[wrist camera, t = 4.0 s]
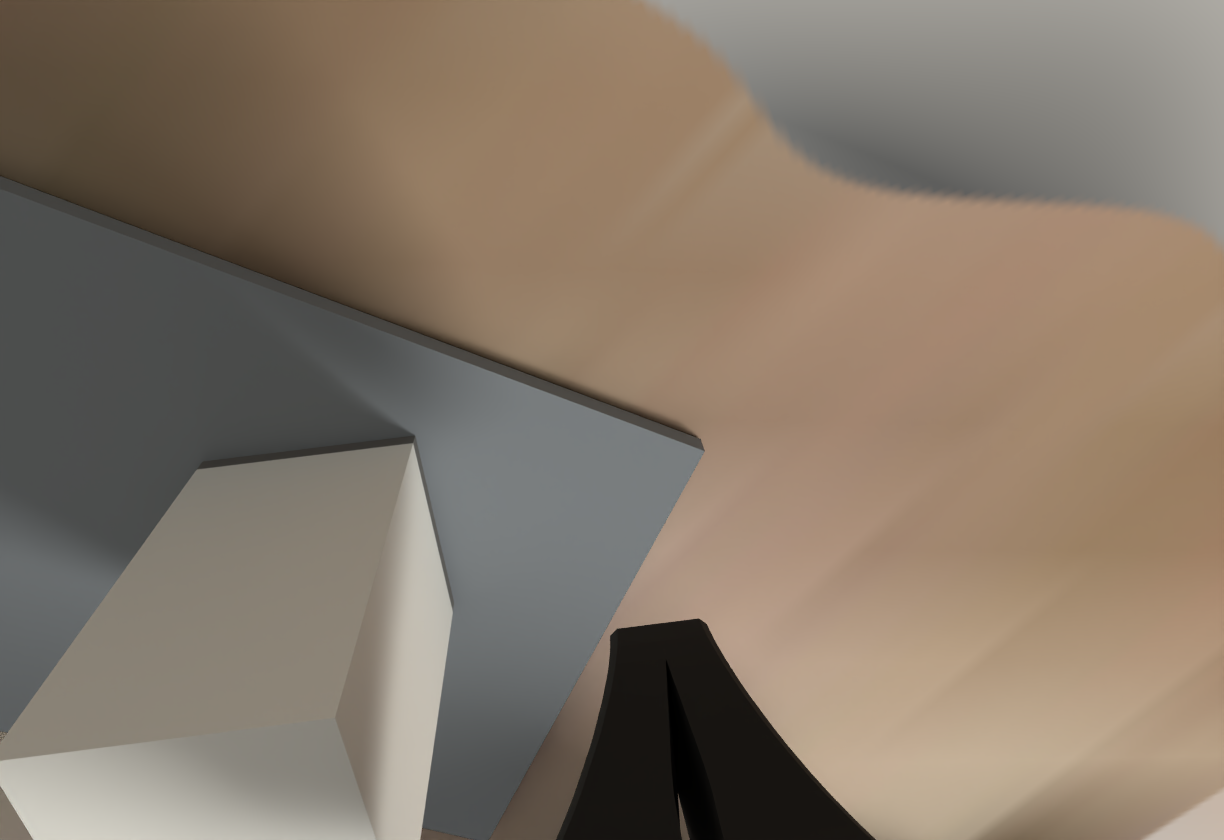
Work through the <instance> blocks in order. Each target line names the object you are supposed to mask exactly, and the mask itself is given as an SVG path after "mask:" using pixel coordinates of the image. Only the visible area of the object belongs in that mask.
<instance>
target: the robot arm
mask: <svg viewBox="0 0 1224 840" xmlns="http://www.w3.org/2000/svg"><path fill="white" fill-rule="evenodd" d="M678 795H679V799H680V803H681V807H682V810H683V814H684V818H685V822H686V826H687V830H688V834H689V838H690V840H876V839H875V838H874V837H872V836H871V835H870V834H869V833H868V832H867V831H866V830H865V829H864V828H863V827H862V826H861V825H860V824H859V823H858V822H857V821H856V820H855V819H854V818H853V817H852V816H851V815H850V814H849V813H848V812H847V811H846V810H845V809H844V808H843V807H842V806H841V805H840V804H839V803H838V802H837V801H836V800H835V799H834V798H833V797H832V796H831V795H830V793H829V792H828V791H827V790H826V789H825V788H824V787H823V786H822V785H821V784H820V783H819V781H818V780H817V779H816V778H815V777H814V776H813V775H812V774H811V773H810V771H809V770H808V769H807V768H806V767H805V766H804V764H803V763H802V762H801V761H800V760H799V758H798V757H797V756H796V755H795V754H794V753H793V751H792V750H791V749H790V748H789V747H788V745H787V744H786V743H785V742H784V740H783V739H782V738H781V737H780V735H779V734H778V733H777V732H776V730H775V729H774V728H773V727H772V725H771V724H770V722H769V721H768V720H767V718H766V717H765V716H764V714H763V713H762V712H761V710H760V709H759V708H758V706H757V705H756V704H755V702H754V701H753V700H752V698H751V697H750V696H749V694H748V693H747V691H746V690H745V688H744V687H743V685H742V684H741V683H740V681H739V679H738V678H737V676H736V675H735V673H734V672H733V670H732V669H731V667H730V666H729V664H728V662H727V661H726V659H725V657H724V656H723V654H722V652H721V651H720V649H719V647H718V646H717V644H716V642H715V640H714V638H713V636H712V634H711V632H710V630H709V628H708V626H707V624H706V623H704V622H703V621H702V620H700V619H692V620H684V621H676V622H668V623H660V624H652V625H644V626H636V627H628V628H620V629H617V630H616V631H615V632H614V633H613V634H612V635H611V636H610V659H609V668H608V674H607V680H606V685H605V691H604V696H603V700H602V705H601V708H600V712H599V716H598V720H597V724H596V728H595V731H594V735H593V739H592V743H591V746H590V749H589V752H588V755H587V758H586V761H585V764H584V767H583V770H582V773H581V776H580V779H579V782H578V785H577V788H576V791H575V794H574V797H573V799H572V802H571V805H570V807H569V810H568V812H567V815H566V817H565V820H564V822H563V825H562V827H561V830H560V832H559V834H558V837H557V839H556V840H682V837H681V832H680V819H679V804H678Z"/></svg>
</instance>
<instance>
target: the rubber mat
mask: <svg viewBox="0 0 1224 840" xmlns="http://www.w3.org/2000/svg"><path fill="white" fill-rule="evenodd" d="M407 436H415V437H416V441H417V445H418V449H419V454H420V458H421V462H422V467H423V471H424V475H425V480H426V484H427V488H428V492H429V497H430V501H431V505H432V510H433V514H434V518H435V523H436V527H437V531H438V535H439V540H440V544H441V548H442V553H443V557H444V561H445V565H446V570H447V574H448V578H449V583H450V587H451V591H452V596H453V600H454V608H453V615H452V622H451V629H450V636H449V643H448V650H447V657H446V664H445V671H444V678H443V685H442V692H441V699H440V705H439V712H438V719H437V726H436V733H435V740H434V747H433V754H432V761H431V768H430V775H429V782H428V789H427V796H426V803H425V810H424V817H423V824H422V828H425V829H429V830H434V831H438V832H442V833H447V834H451V835H455V836H460V837H464V838H469V839H473V840H489V839H490V837H491V835H492V833H493V831H494V830H495V828H496V826H497V824H498V822H499V821H500V819H501V817H502V815H503V813H504V812H505V810H506V808H507V806H508V804H509V803H510V801H511V799H512V797H513V795H514V794H515V792H516V790H517V788H518V786H519V785H520V783H521V781H522V779H523V777H524V776H525V774H526V772H527V770H528V768H529V767H530V765H531V763H532V761H533V759H534V758H535V756H536V754H537V752H538V750H539V749H540V747H541V745H542V743H543V741H544V740H545V738H546V736H547V734H548V732H549V731H550V729H551V727H552V725H553V723H554V722H555V720H556V718H557V716H558V714H559V713H560V711H561V709H562V707H563V705H564V704H565V702H566V700H567V698H568V696H569V695H570V693H571V691H572V689H573V687H574V686H575V684H576V682H577V680H578V678H579V677H580V675H581V673H582V671H583V669H584V668H585V666H586V664H587V662H588V660H589V659H590V657H591V655H592V653H593V651H594V650H595V648H596V646H597V644H598V642H599V641H600V639H601V637H602V635H603V633H604V632H605V630H606V628H607V626H608V624H609V623H610V621H611V619H612V617H613V615H614V614H615V612H616V610H617V608H618V606H619V605H620V603H621V601H622V599H623V597H624V596H625V594H626V592H627V590H628V588H629V587H630V585H631V583H632V581H633V579H634V578H635V576H636V574H637V572H638V570H639V569H640V567H641V565H642V563H643V561H644V560H645V558H646V556H647V554H648V552H649V551H650V549H651V547H652V545H653V543H654V542H655V540H656V538H657V536H658V534H659V533H660V531H661V529H662V527H663V525H664V524H665V522H666V520H667V518H668V516H669V515H670V513H671V511H672V509H673V507H674V506H675V504H676V502H677V500H678V498H679V497H680V495H681V493H682V491H683V489H684V488H685V486H686V484H687V482H688V480H689V479H690V477H691V475H692V473H693V471H694V470H695V468H696V466H697V464H698V462H699V460H700V459H701V457H702V455H703V453H704V451H705V450H704V448H703V445H702V442H701V439H699V438H696V437H694V436H691V435H688V434H686V433H683V432H680V431H678V430H675V429H672V428H670V427H667V426H664V425H662V424H659V423H656V422H654V421H651V420H648V419H646V418H643V417H640V416H638V415H635V414H632V413H630V412H627V411H624V410H622V409H619V408H616V407H614V406H611V405H608V404H606V403H603V402H600V401H598V400H595V399H592V398H590V397H587V396H584V395H582V394H579V393H576V392H574V391H571V390H569V389H566V388H563V387H561V386H558V385H555V384H553V383H550V382H547V381H545V380H542V379H539V378H537V377H534V376H531V375H529V374H526V373H523V372H521V371H518V370H515V369H513V368H510V367H507V366H505V365H502V364H499V363H497V362H494V361H491V360H489V359H486V358H483V357H481V356H478V355H475V354H473V353H470V352H467V351H465V350H462V349H459V348H457V347H454V346H451V345H449V344H446V343H443V342H441V341H438V340H435V339H433V338H430V337H427V336H425V335H422V334H419V333H417V332H414V331H411V330H409V329H406V328H403V327H401V326H398V325H395V324H393V323H390V322H387V321H385V320H382V319H379V318H377V317H374V316H371V315H369V314H366V313H363V312H361V311H358V310H355V309H353V308H350V307H347V306H345V305H342V304H339V303H337V302H334V301H331V300H329V299H326V298H323V297H321V296H318V295H316V294H313V293H310V292H308V291H305V290H302V289H300V288H297V287H294V286H292V285H289V284H286V283H284V282H281V281H278V280H276V279H273V278H270V277H268V276H265V275H262V274H260V273H257V272H254V271H252V270H249V269H246V268H244V267H241V266H238V265H236V264H233V263H230V262H228V261H225V260H222V259H220V258H217V257H214V256H212V255H209V254H206V253H204V252H201V251H198V250H196V249H193V248H190V247H188V246H185V245H182V244H180V243H177V242H174V241H172V240H169V239H166V238H164V237H161V236H158V235H156V234H153V233H150V232H148V231H145V230H142V229H140V228H137V227H134V226H132V225H129V224H126V223H124V222H121V221H118V220H116V219H113V218H110V217H108V216H105V215H102V214H100V213H97V212H94V211H92V210H89V209H86V208H84V207H81V206H78V205H76V204H73V203H71V202H68V201H65V200H63V199H60V198H57V197H55V196H52V195H49V194H47V193H44V192H41V191H39V190H36V189H33V188H31V187H28V186H25V185H23V184H20V183H17V182H15V181H12V180H9V179H7V178H4V177H1V176H0V731H2V732H7V733H8V731H9V730H10V729H11V727H12V726H13V724H14V723H15V722H16V720H17V719H18V717H19V716H20V715H21V713H22V712H23V710H24V709H25V708H26V706H27V705H28V704H29V702H30V701H31V699H32V698H33V697H34V695H35V694H36V692H37V691H38V690H39V688H40V687H41V685H42V684H43V683H44V681H45V680H46V678H47V677H48V676H49V674H50V673H51V672H52V670H53V669H54V667H55V666H56V665H57V663H58V662H59V660H60V659H61V658H62V656H63V655H64V653H65V652H66V651H67V649H68V648H69V646H70V645H71V644H72V642H73V641H74V640H75V638H76V637H77V635H78V634H79V633H80V631H81V630H82V628H83V627H84V626H85V624H86V623H87V621H88V620H89V619H90V617H91V616H92V614H93V613H94V612H95V610H96V609H97V608H98V606H99V605H100V603H101V602H102V601H103V599H104V598H105V596H106V595H107V594H108V592H109V591H110V589H111V588H112V587H113V585H114V584H115V582H116V581H117V580H118V578H119V577H120V576H121V574H122V573H123V571H124V570H125V569H126V567H127V566H128V564H129V563H130V562H131V560H132V559H133V557H134V556H135V555H136V553H137V552H138V550H139V549H140V548H141V546H142V545H143V544H144V542H145V541H146V539H147V538H148V537H149V535H150V534H151V532H152V531H153V530H154V528H155V527H156V525H157V524H158V523H159V521H160V520H161V518H162V517H163V516H164V514H165V513H166V512H167V510H168V509H169V507H170V506H171V505H172V503H173V502H174V500H175V499H176V498H177V496H178V495H179V493H180V492H181V491H182V489H183V488H184V486H185V485H186V484H187V482H188V481H189V480H190V478H191V477H192V475H193V474H194V473H195V471H196V470H197V468H198V467H199V466H200V464H201V463H202V462H203V461H211V460H219V459H227V458H236V457H244V456H252V455H260V454H268V453H276V452H285V451H293V450H301V449H309V448H317V447H326V446H334V445H342V444H350V443H358V442H366V441H375V440H383V439H391V438H399V437H407Z"/></svg>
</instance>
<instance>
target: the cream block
mask: <svg viewBox="0 0 1224 840" xmlns="http://www.w3.org/2000/svg"><path fill="white" fill-rule="evenodd" d="M453 608H454V600H453V596H452V591H451V587H450V583H449V578H448V574H447V570H446V565H445V561H444V557H443V553H442V548H441V544H440V540H439V535H438V531H437V527H436V523H435V518H434V514H433V510H432V505H431V501H430V497H429V492H428V488H427V484H426V480H425V475H424V471H423V467H422V462H421V458H420V454H419V449H418V445H417V441H416V437H415V436H407V437H399V438H391V439H383V440H375V441H366V442H358V443H350V444H342V445H334V446H326V447H317V448H309V449H301V450H293V451H285V452H276V453H268V454H260V455H252V456H244V457H236V458H227V459H219V460H211V461H203V462H202V463H201V464H200V466H199V467H198V468H197V470H196V471H195V473H194V474H193V475H192V477H191V478H190V480H189V481H188V482H187V484H186V485H185V486H184V488H183V489H182V491H181V492H180V493H179V495H178V496H177V498H176V499H175V500H174V502H173V503H172V505H171V506H170V507H169V509H168V510H167V512H166V513H165V514H164V516H163V517H162V518H161V520H160V521H159V523H158V524H157V525H156V527H155V528H154V530H153V531H152V532H151V534H150V535H149V537H148V538H147V539H146V541H145V542H144V544H143V545H142V546H141V548H140V549H139V550H138V552H137V553H136V555H135V556H134V557H133V559H132V560H131V562H130V563H129V564H128V566H127V567H126V569H125V570H124V571H123V573H122V574H121V576H120V577H119V578H118V580H117V581H116V582H115V584H114V585H113V587H112V588H111V589H110V591H109V592H108V594H107V595H106V596H105V598H104V599H103V601H102V602H101V603H100V605H99V606H98V608H97V609H96V610H95V612H94V613H93V614H92V616H91V617H90V619H89V620H88V621H87V623H86V624H85V626H84V627H83V628H82V630H81V631H80V633H79V634H78V635H77V637H76V638H75V640H74V641H73V642H72V644H71V645H70V646H69V648H68V649H67V651H66V652H65V653H64V655H63V656H62V658H61V659H60V660H59V662H58V663H57V665H56V666H55V667H54V669H53V670H52V672H51V673H50V674H49V676H48V677H47V678H46V680H45V681H44V683H43V684H42V685H41V687H40V688H39V690H38V691H37V692H36V694H35V695H34V697H33V698H32V699H31V701H30V702H29V704H28V705H27V706H26V708H25V709H24V710H23V712H22V713H21V715H20V716H19V717H18V719H17V720H16V722H15V723H14V724H13V726H12V727H11V729H10V730H9V731H8V733H7V734H6V736H5V737H4V738H3V740H2V741H1V742H0V786H1V788H2V789H3V791H4V793H5V794H6V796H7V798H8V799H9V801H10V802H11V804H12V806H13V807H14V809H15V811H16V812H17V814H18V816H19V817H20V819H21V820H22V822H23V824H24V825H25V827H26V829H27V830H28V832H29V833H30V835H31V837H32V838H33V840H420V838H421V831H422V824H423V817H424V810H425V803H426V796H427V789H428V782H429V775H430V768H431V761H432V754H433V747H434V740H435V733H436V726H437V719H438V712H439V705H440V699H441V692H442V685H443V678H444V671H445V664H446V657H447V650H448V643H449V636H450V629H451V622H452V615H453Z"/></svg>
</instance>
